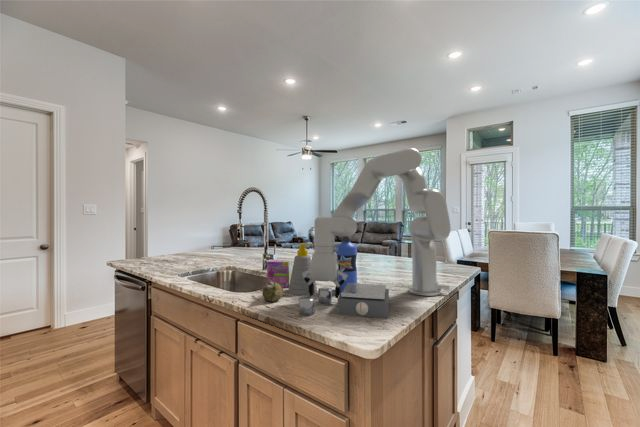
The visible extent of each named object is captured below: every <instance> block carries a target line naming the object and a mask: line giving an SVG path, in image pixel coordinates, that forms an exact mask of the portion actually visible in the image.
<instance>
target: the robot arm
mask: <svg viewBox="0 0 640 427" xmlns="http://www.w3.org/2000/svg"><path fill="white" fill-rule="evenodd" d="M421 163H422V154H421V153H420V151H419V150H418V149H416V148H413V147H408V148H404V149H400V150H397V151H392V152H388V153H385V154H380V155H378V156H376V157H373V158H370V159H369V160H367V162H366V163H365V164H364V166H363V168H362V170H361V171H360V173H359V175H358V176H357V179H356V180H355V182H354V184H353V185H352V188H350V191H348V192H347V194H346V196H344V198H343V199H342V200H341V201H340V203H339V204H338V205H337V207H336V208H335V211H333V214H332V216H331V217H330V216H329V217H328V216H318V217H315V219H314V236H313V237H314V243H313V244H314V245H313V246H314V250H313V251H314V252H313V253H312V256H311V269H308V270H306V271H304V272H303V273H302V275H303V278H304V280H305V281H306V282H307V283H308V285H309V293H310V295H309V297H313V296H314V294H315V293H314V284H313V282H314V281H315V282H329V283H331V282H332V283H334V285H335V286H334V287H335V289H334V290H335V292H334V294H335V299H338V298H339V296H340V295H341V293H340V286H341V285H342V284H343V283H344V282H345V280H346V278H347V276H348V275H347V274H345V273H344V272H342V271H340V270H339V268H338V258H337V254H335V251H338V248H337V247H335V246H336V243H335V239H336V238H335V236H338V237H343V236H344V237H348V236H349V237H352V236H353V235H354V234H355V233H356V232H357V231H358V230H357V229H358V223H357V221H356V220H355V219H354V218H352V217H353V216H354V214H355V213H356V212H357V211H358V210H359V209H360V208H363V207H364V206H365V205H366V204H367V203H369V202H370V201H371V200H372V198H373V196H374V195H375V193H376V191H377V189H378V187H379V185H380V184H381V181H382V180H383V179H385V178H389V177H394V176H398V177H399V178H400V179H401V181H402V183H403V186H404V189H405V195H406V200H407V204H408V208H409V211H411V212H412V213H415V214H421V215H419V216H417V217H415V218H413V219H412V220H411V221H410V224H409V233H410V234H409V235H410V238H411V248H412V249H411V250H412V251H411V253H412V255H411V256H412V257H411V258H412V259H411V261H412V266H411V267H412V268H411V270H412V271H411V272H412V273H411V274H412V276H411V277H412V282H411V284H412V285H411V286H410V287H408V292H409V293H411V294H412V295H418V296H424V297H434V296H439V295H440V294H442V290H450V284H445V283H439V282H438V280H437V278H438V277H437V269H438V268H437V265H438V264H437V252H438V251H437V247H436V243H435V241H439V242H440V241H444V240H446V239H448V237H449V236H450V233H451V229H452V228H451V227H452V226H451V220H450V216H449V210H448V205H447V201H446V198H445V196H444V194H443V193H442V192H441V191H439V190H438V189H435V188H428V186H427V181H426V178H425V175H424V173H423V171H422V169H420V168H419V167H420V166H421ZM422 214H423V215H422ZM424 214H425V215H424ZM308 273H310V277H311V280H310V279H309V278H308V277H307V274H308ZM339 275H341V276H342V277H343V278H342V280H341V281H339V280H338V277H339Z"/></svg>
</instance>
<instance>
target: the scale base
mask: <svg viewBox="0 0 640 427" xmlns="http://www.w3.org/2000/svg"><path fill="white" fill-rule="evenodd" d="M389 306H390V290H389V289H388V288H386V292H385V299H372V298H357V297H342V296H341V294H340V295H339V296H338V298H337V315H344V316H345V315H347V316H360V317H369V318H372V317H373V318H382V319H388V318H389V309H390V308H389Z"/></svg>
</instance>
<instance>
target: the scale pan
mask: <svg viewBox="0 0 640 427" xmlns="http://www.w3.org/2000/svg"><path fill="white" fill-rule="evenodd" d="M386 289H387V284H374V283H358V282H357V283H348V284H347V285H346V287H345V288H344V290H343V291H342V292H341V293H340V295H341V296H342V297H357V298H372V299H385V292H386Z"/></svg>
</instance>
